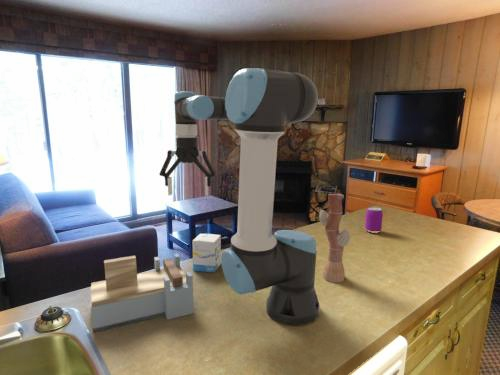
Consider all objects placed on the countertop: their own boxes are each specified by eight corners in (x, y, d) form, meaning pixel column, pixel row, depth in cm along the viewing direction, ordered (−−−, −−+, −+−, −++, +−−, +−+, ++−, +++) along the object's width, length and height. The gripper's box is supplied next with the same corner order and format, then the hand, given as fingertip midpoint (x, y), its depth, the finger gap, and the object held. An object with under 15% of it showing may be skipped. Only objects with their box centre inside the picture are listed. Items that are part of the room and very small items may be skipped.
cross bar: (182, 285, 91) (182, 276, 91) (173, 286, 90) (173, 278, 90) (171, 265, 104) (171, 258, 103) (163, 266, 103) (163, 259, 102)
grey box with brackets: (194, 313, 93) (193, 275, 91) (93, 338, 82) (89, 295, 80) (179, 286, 108) (178, 253, 106) (92, 304, 97) (89, 268, 94)
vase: (350, 279, 114) (356, 195, 108) (336, 285, 109) (342, 197, 104) (326, 268, 122) (331, 189, 116) (312, 273, 118) (316, 192, 112)
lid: (190, 288, 94) (189, 255, 92) (92, 309, 83) (88, 272, 81) (180, 272, 104) (179, 242, 102) (91, 289, 93) (88, 256, 91)
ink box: (214, 273, 118) (214, 242, 116) (192, 270, 119) (191, 240, 117) (221, 263, 126) (221, 234, 124) (200, 261, 128) (199, 232, 125)
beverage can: (382, 231, 165) (384, 208, 163) (379, 235, 159) (381, 211, 156) (366, 228, 169) (368, 205, 167) (363, 232, 163) (365, 209, 160)
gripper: (222, 136, 121) (223, 193, 125) (155, 136, 121) (158, 192, 125) (220, 137, 113) (221, 197, 117) (148, 137, 114) (151, 196, 118)
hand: (188, 194), depth 121 cm, fingers open, 13 cm apart
